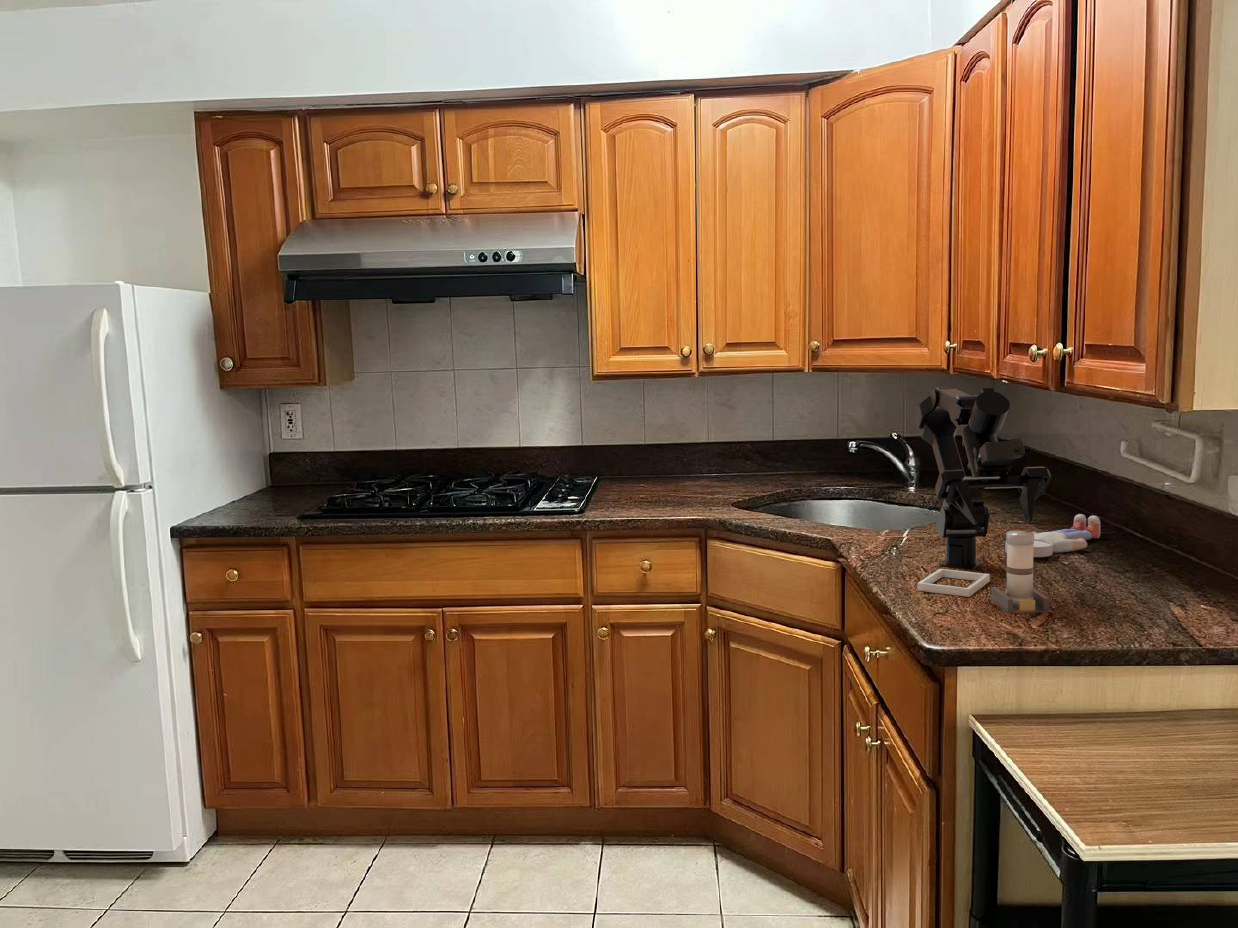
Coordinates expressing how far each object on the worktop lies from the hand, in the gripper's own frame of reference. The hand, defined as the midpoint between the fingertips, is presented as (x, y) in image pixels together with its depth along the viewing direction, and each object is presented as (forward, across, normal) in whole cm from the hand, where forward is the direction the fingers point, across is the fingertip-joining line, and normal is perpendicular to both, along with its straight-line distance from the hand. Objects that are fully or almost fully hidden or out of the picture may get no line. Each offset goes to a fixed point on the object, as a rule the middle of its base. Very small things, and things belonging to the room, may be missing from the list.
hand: (1003, 522), depth 166 cm
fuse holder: (+15, 0, +4) cm, 16 cm away
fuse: (+14, 0, +3) cm, 15 cm away
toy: (-16, +23, +37) cm, 47 cm away
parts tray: (+6, -7, +13) cm, 16 cm away
